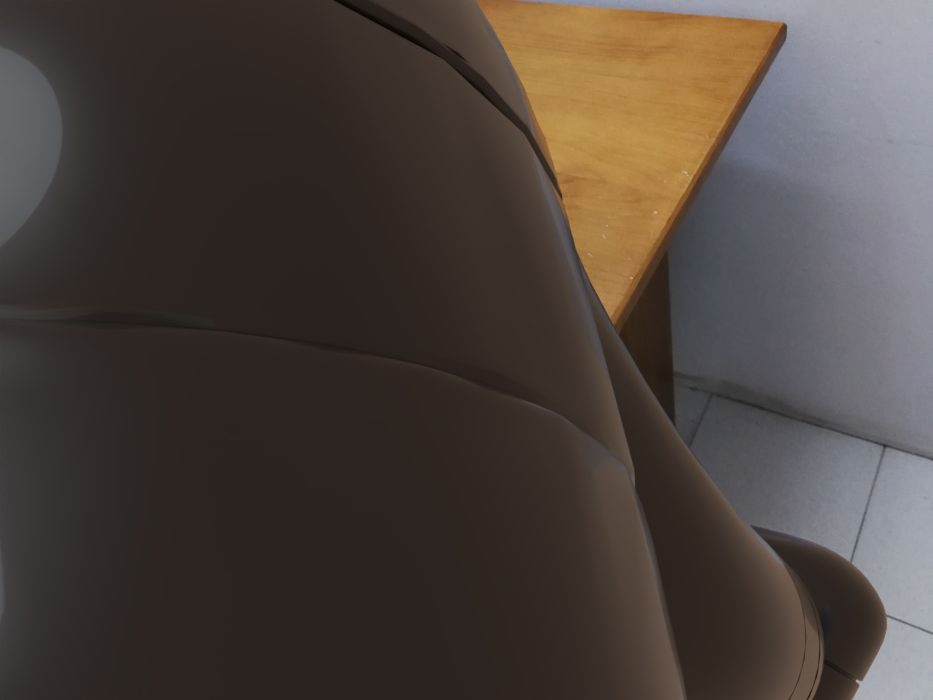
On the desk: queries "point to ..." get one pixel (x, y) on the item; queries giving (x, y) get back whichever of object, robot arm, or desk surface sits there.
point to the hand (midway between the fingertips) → (270, 339)
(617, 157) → the desk surface
